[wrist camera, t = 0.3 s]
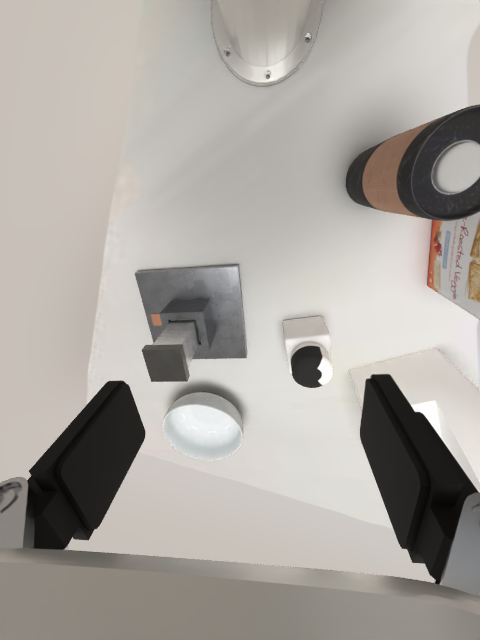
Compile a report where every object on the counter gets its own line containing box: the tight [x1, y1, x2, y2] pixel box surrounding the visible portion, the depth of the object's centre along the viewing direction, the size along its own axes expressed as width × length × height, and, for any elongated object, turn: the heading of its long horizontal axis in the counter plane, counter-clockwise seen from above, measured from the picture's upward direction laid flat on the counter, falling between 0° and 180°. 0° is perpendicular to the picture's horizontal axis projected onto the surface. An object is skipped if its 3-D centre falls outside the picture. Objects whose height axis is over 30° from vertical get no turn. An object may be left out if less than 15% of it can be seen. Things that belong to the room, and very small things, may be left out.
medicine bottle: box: [283, 316, 333, 388], centre depth 44 cm, size 7×7×12 cm
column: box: [142, 319, 201, 382], centre depth 41 cm, size 5×5×14 cm
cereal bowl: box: [162, 392, 243, 460], centre depth 57 cm, size 17×17×7 cm
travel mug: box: [346, 105, 480, 221], centre depth 28 cm, size 8×8×20 cm
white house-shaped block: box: [349, 348, 480, 493], centre depth 42 cm, size 19×15×25 cm
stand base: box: [135, 264, 247, 359], centre depth 46 cm, size 18×18×7 cm
